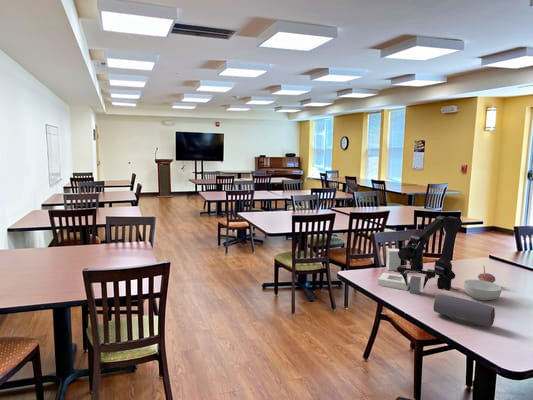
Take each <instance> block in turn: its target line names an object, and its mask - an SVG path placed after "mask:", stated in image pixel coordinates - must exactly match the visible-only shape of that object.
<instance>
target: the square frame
mask: <svg viewBox="0 0 533 400" xmlns="http://www.w3.org/2000/svg"><path fill="white" fill-rule="evenodd" d="M411 277H412V276H408V275H407V278H408V285H407V286H406V283H405V280H404V278H403V276H402V275H401V274H395V273H390V272H389V273H388V272H382V274H381V275H380V276H379V277H378V278H377V286H381V287H387V288H392V289H397V290H398V289H399V290H403V291H404V290H405V291H408V290H409V289H410V281H411Z"/></svg>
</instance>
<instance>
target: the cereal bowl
mask: <svg viewBox="0 0 533 400" xmlns="http://www.w3.org/2000/svg"><path fill="white" fill-rule="evenodd" d="M463 288H464V289H463V290H464V291H465V292H466V293H467V295H469V296H471V297H472V298H473V299H475V300H478V301H483V302H484V301H485V302H487V301H488V302H489V301H490V300H495V299H498V298H500V296H501V293H502V290H503V289H502V286H500V285H499V284H497V283H495V282H493V283H491V282H487V281H482V280H479V279H467V280H464V283H463Z"/></svg>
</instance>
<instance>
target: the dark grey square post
mask: <svg viewBox="0 0 533 400" xmlns="http://www.w3.org/2000/svg"><path fill="white" fill-rule="evenodd" d="M410 277H411V281H410V287H409V293H410V294H416V295H419V294H420V293H421V280H422V277H421V276H417V275H416V276H415V275H412V276H410Z"/></svg>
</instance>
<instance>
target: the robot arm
mask: <svg viewBox="0 0 533 400" xmlns="http://www.w3.org/2000/svg"><path fill="white" fill-rule="evenodd" d="M462 225H463V221H462V218H460V217H457V216H456V217H455V216H447V217H446V216H443V215H437V216H436V218H435V219H434V220H432V221H431V222H430V223H429V224H428V225H427V226H425V227H424V228H423V229H422V230H419V231H416V232H414V233H413V234H411V235H410V238H408V239H409V240H408V241H407V242H406V244H405V246H401V248H400V249H399V252H398V256H399V258H400V259H401V261H406V260H409V264H408V265H409V266H410V267H409V268H408V267H407V265H402V264H400V265H399V266H398V268H397V271H396V272H397V274H398V273H399V275H402V276H403V278H404V280H405V283H406V286H407V285H408V278H407V276H408V273H413V274H421V275H425V276H424V280H423V285H422V286H423V287H422V289H424V290H425V287H426V285H427V283H428V280H431V279H433V278H436V276H438V277H437V282H436V286H437V289H440V290H446V291H447V290H448V291H451V290H452V280H454V279H455V278H456V273H455V272H454V271H453V264H452V261H451V260H452V259H451V258H452V253H453V250H454V244H455V241H456V240H455V239H456V235H457V234H458V233H459V232H460V231H461V228H462ZM443 226H444V230H445V235H444V241H443V244H442V245H443V246H442V249H441V252H440V253H441V254H440V257H439V258H438V259H435V261H434V264H433V268H434V269H429V268H428V269H427V270H424V251H426V250H427V249H428V248H426V246H425V245H426V244H427V243H428V242H429V239H430V237H432V236H433V235H434V234H435V233H436V232H437V231H438V230H439V229H441V227H443Z"/></svg>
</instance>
